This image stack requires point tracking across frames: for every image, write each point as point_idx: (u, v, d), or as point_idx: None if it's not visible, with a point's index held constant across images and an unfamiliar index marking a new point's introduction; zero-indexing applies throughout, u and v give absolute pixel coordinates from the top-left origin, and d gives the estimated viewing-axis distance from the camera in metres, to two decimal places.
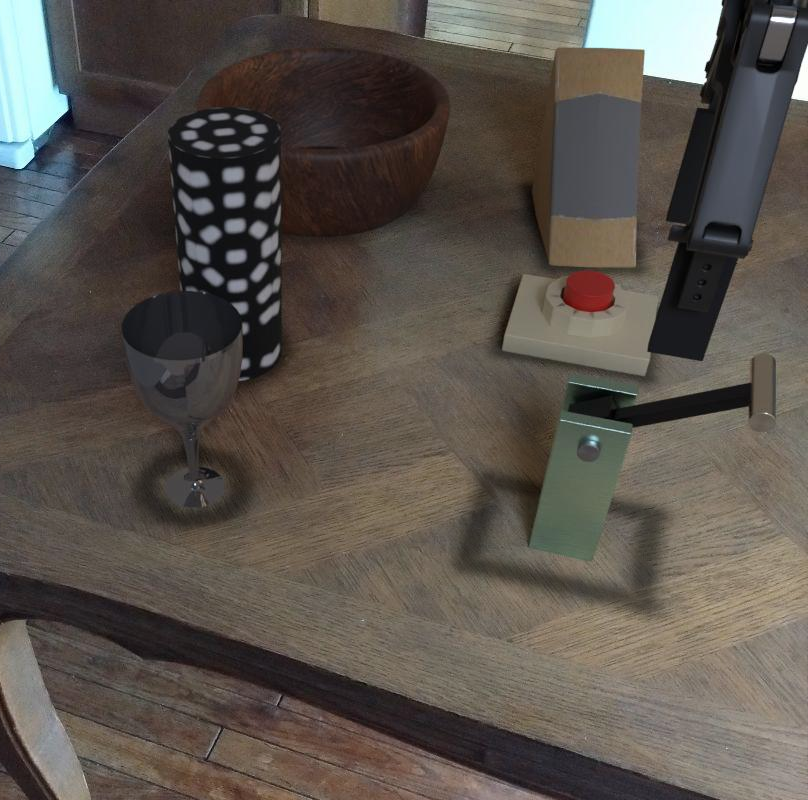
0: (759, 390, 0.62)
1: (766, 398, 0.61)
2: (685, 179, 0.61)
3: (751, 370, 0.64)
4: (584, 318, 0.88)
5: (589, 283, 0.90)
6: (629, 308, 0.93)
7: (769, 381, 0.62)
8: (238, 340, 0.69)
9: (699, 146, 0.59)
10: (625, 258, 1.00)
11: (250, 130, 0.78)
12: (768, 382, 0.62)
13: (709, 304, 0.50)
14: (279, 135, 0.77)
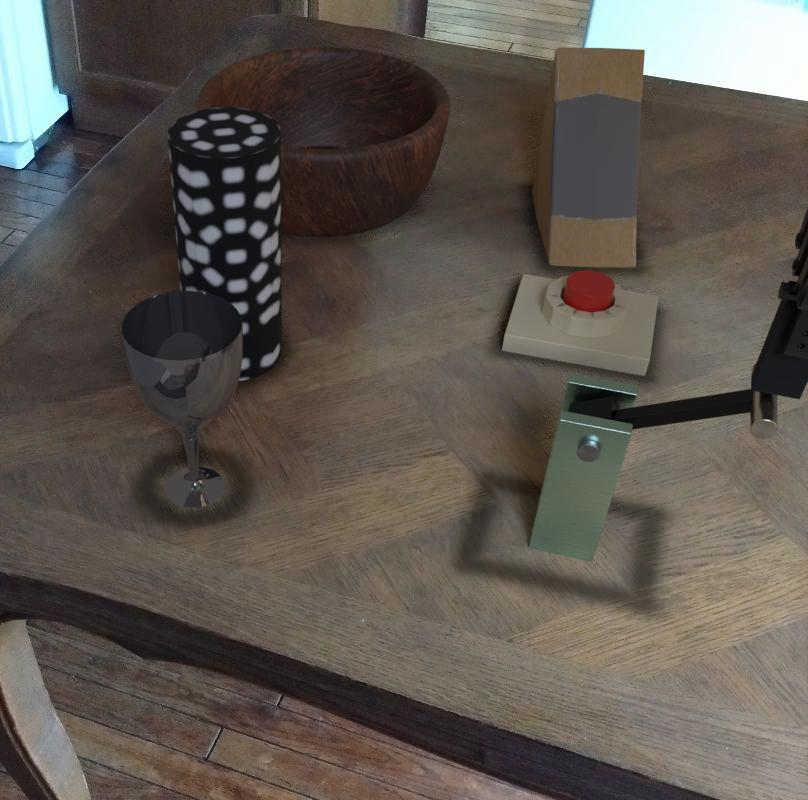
0: (761, 397, 0.62)
1: (768, 404, 0.61)
2: None
3: None
4: (584, 318, 0.88)
5: (589, 283, 0.90)
6: (629, 308, 0.93)
7: None
8: (239, 340, 0.69)
9: None
10: (625, 258, 1.00)
11: (250, 130, 0.78)
12: None
13: None
14: (279, 135, 0.77)
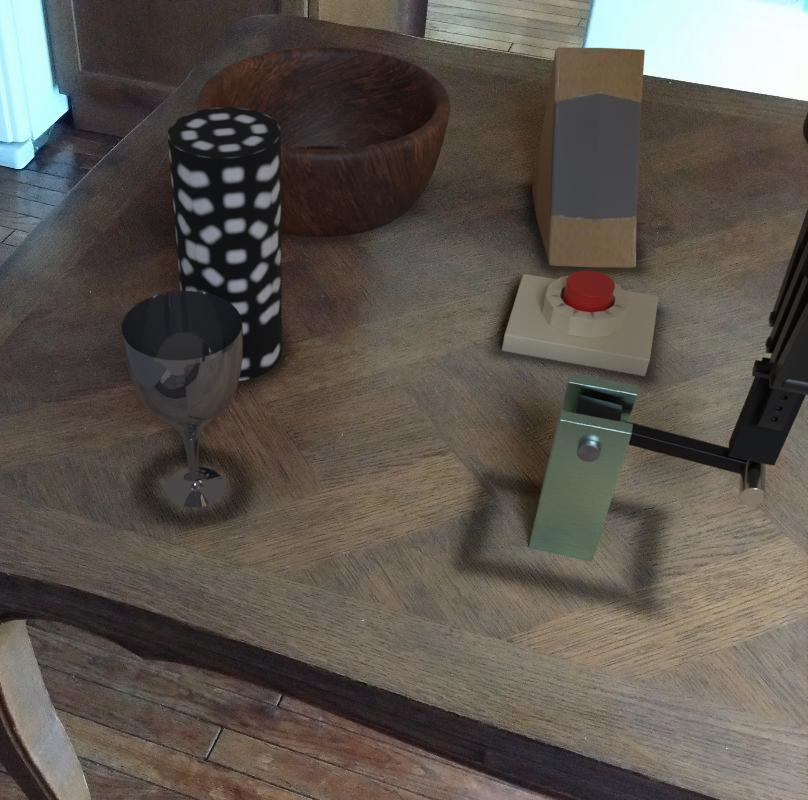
0: (756, 465, 0.65)
1: (762, 475, 0.65)
2: None
3: None
4: (584, 318, 0.88)
5: (589, 283, 0.90)
6: (629, 308, 0.93)
7: None
8: (239, 340, 0.69)
9: None
10: (625, 258, 1.00)
11: (250, 130, 0.78)
12: None
13: (784, 425, 0.62)
14: (279, 135, 0.77)
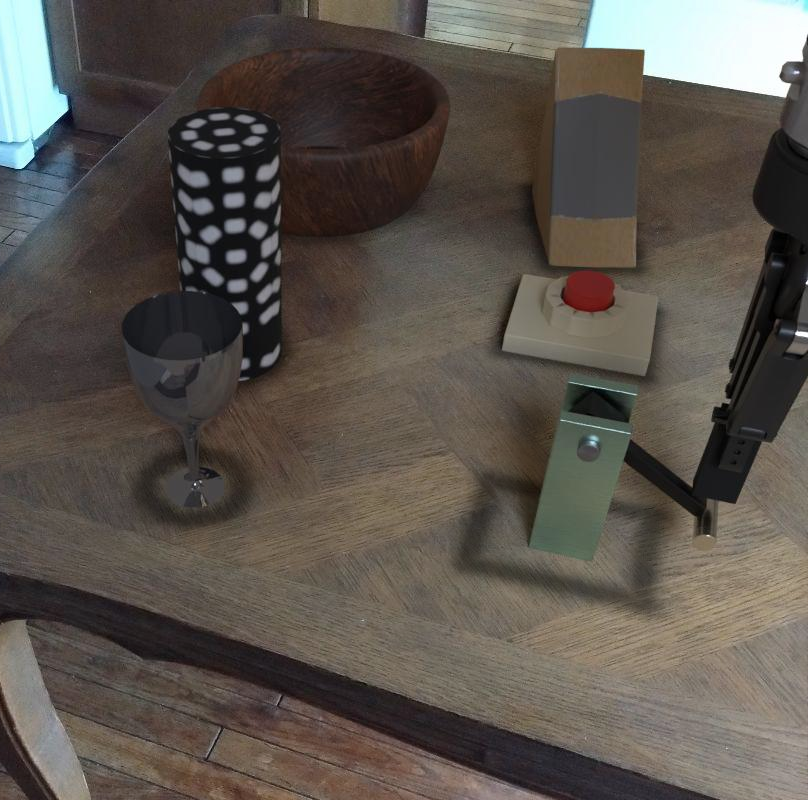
0: (714, 514, 0.69)
1: None
2: None
3: None
4: (584, 318, 0.88)
5: (589, 283, 0.90)
6: (629, 308, 0.93)
7: None
8: (239, 340, 0.69)
9: None
10: (625, 258, 1.00)
11: (250, 130, 0.78)
12: (717, 510, 0.70)
13: (742, 467, 0.64)
14: (279, 135, 0.77)
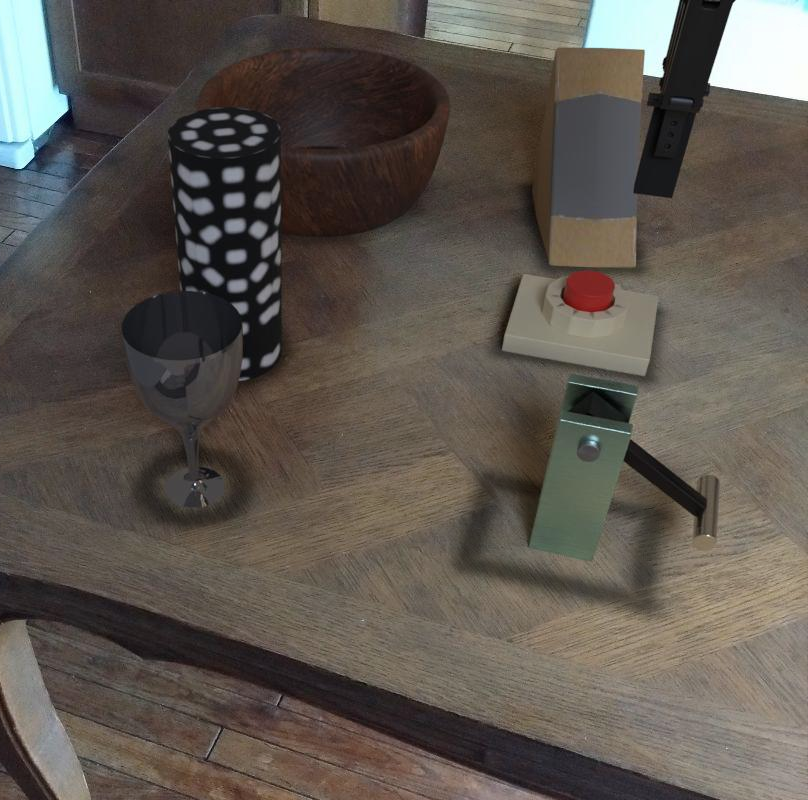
0: (714, 514, 0.69)
1: None
2: None
3: (707, 486, 0.71)
4: (584, 318, 0.88)
5: (589, 283, 0.90)
6: (629, 308, 0.93)
7: None
8: (239, 340, 0.69)
9: None
10: (625, 258, 1.00)
11: (250, 130, 0.78)
12: (717, 510, 0.70)
13: (676, 151, 0.72)
14: (279, 135, 0.77)
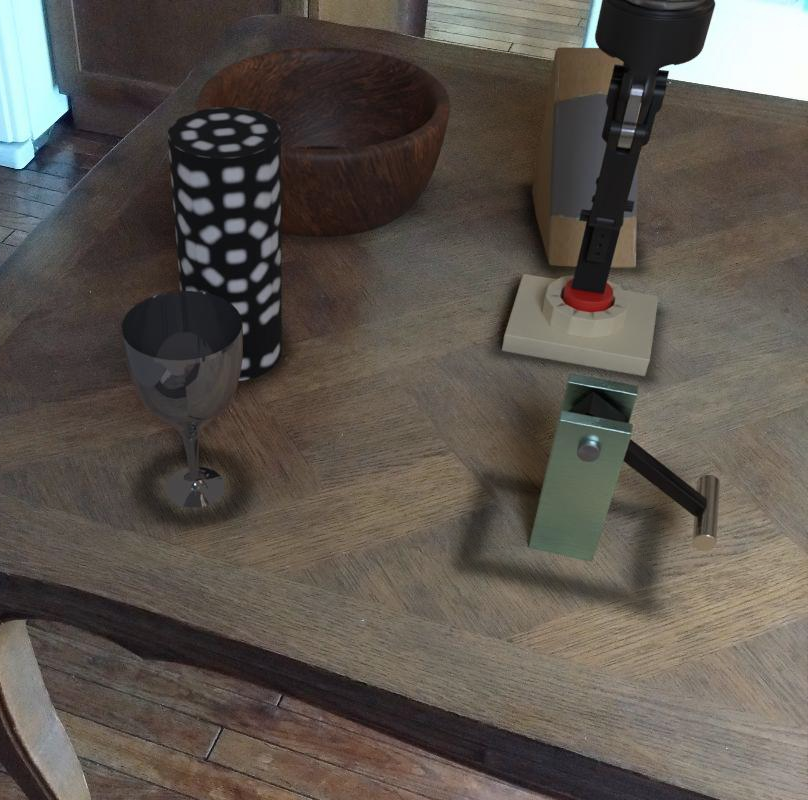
0: (714, 514, 0.69)
1: None
2: None
3: (707, 486, 0.71)
4: (584, 318, 0.88)
5: None
6: (629, 308, 0.93)
7: None
8: (239, 340, 0.69)
9: None
10: (625, 258, 1.00)
11: (250, 130, 0.78)
12: (717, 510, 0.70)
13: (604, 257, 0.86)
14: (279, 135, 0.77)
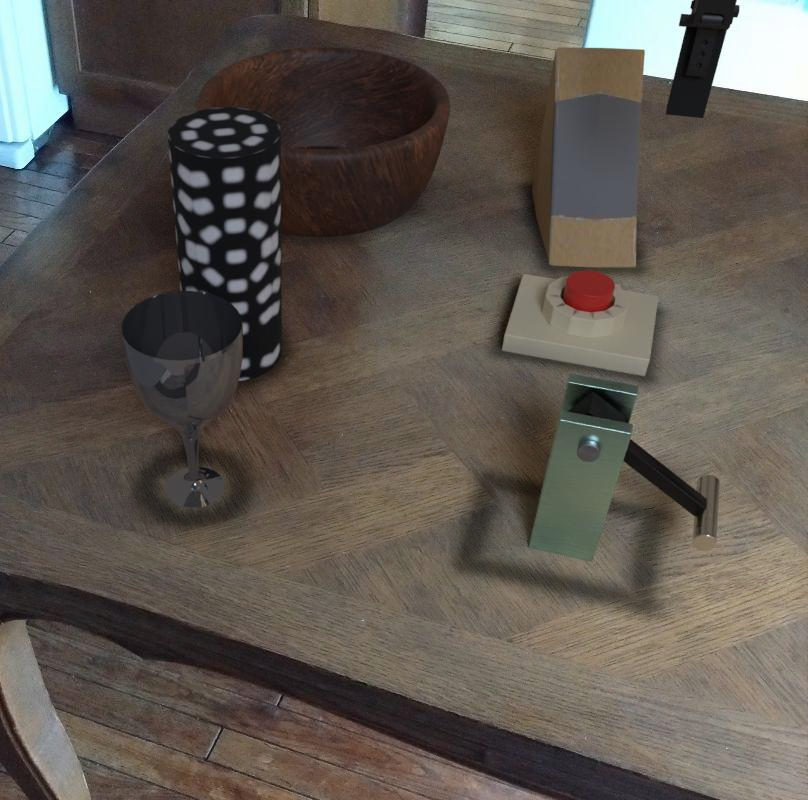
0: (714, 514, 0.69)
1: None
2: None
3: (707, 486, 0.71)
4: (584, 318, 0.88)
5: (589, 283, 0.90)
6: (629, 308, 0.93)
7: None
8: (239, 340, 0.69)
9: None
10: (625, 258, 1.00)
11: (250, 130, 0.78)
12: (717, 510, 0.70)
13: (706, 70, 0.76)
14: (279, 135, 0.77)
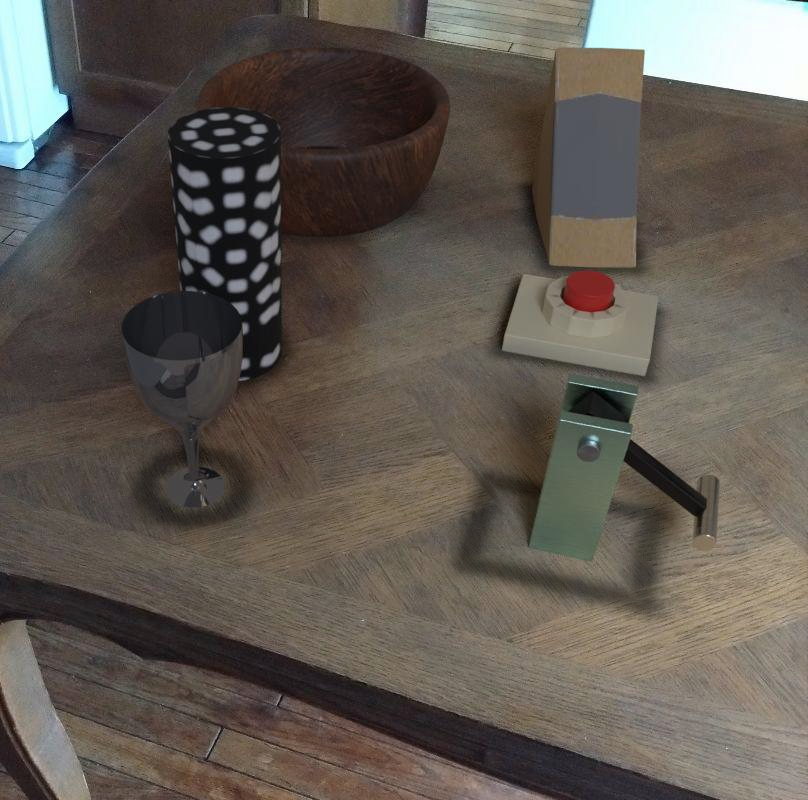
0: (714, 514, 0.69)
1: None
2: None
3: (707, 486, 0.71)
4: (584, 318, 0.88)
5: (589, 283, 0.90)
6: (629, 308, 0.93)
7: None
8: (239, 340, 0.69)
9: None
10: (625, 258, 1.00)
11: (250, 130, 0.78)
12: (717, 510, 0.70)
13: None
14: (279, 135, 0.77)
